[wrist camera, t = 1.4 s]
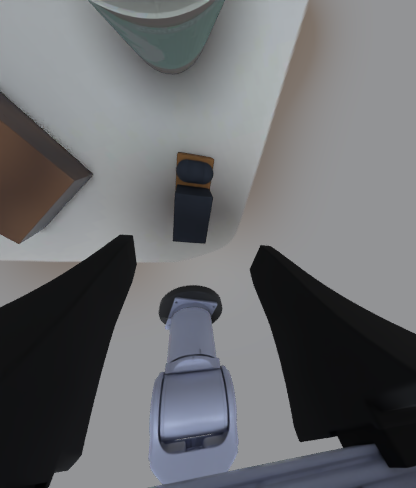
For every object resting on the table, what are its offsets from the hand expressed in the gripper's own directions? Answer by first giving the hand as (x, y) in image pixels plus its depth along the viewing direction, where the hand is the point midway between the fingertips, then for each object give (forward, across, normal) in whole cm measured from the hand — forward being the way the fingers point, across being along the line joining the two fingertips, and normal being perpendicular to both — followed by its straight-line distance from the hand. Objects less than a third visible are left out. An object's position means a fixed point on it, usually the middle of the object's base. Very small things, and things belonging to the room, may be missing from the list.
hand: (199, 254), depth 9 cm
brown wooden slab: (+11, +27, -11) cm, 31 cm away
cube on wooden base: (+10, 0, 0) cm, 10 cm away
